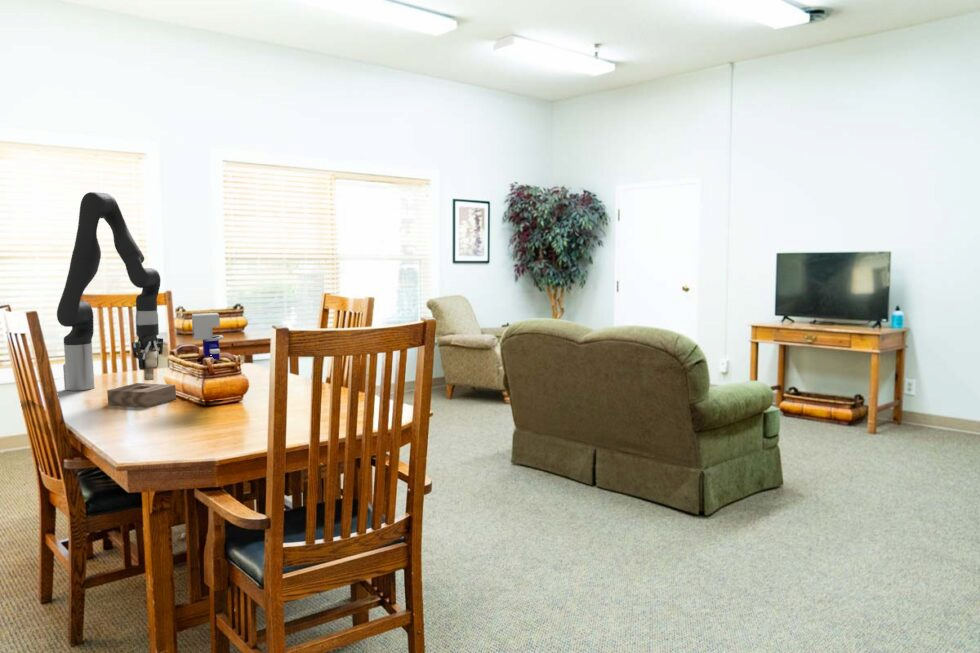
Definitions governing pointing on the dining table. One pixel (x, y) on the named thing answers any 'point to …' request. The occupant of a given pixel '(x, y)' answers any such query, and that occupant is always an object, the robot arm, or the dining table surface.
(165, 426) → the dining table surface
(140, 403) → the grey wooden block
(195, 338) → the toy
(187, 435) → the dining table surface
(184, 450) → the dining table surface
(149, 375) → the peg
